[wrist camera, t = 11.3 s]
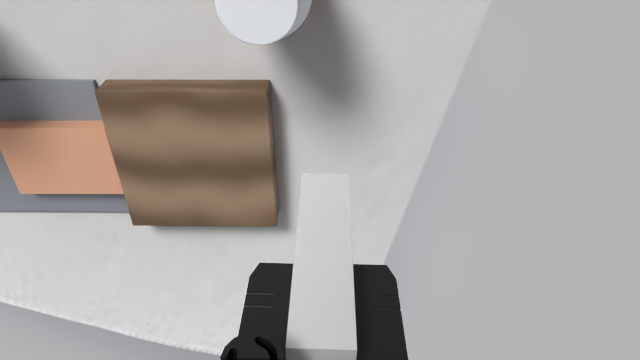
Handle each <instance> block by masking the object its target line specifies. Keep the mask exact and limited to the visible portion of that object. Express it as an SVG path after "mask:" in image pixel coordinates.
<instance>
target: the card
mask: <svg viewBox="0 0 640 360" xmlns="http://www.w3.org/2000/svg"><path fill="white" fill-rule="evenodd" d="M0 150H1V152H2V154H3V157H4V159H5V161H6V163H7V166H8V168H9V170H10V172H11V175H12V177H13V179H14V181H15V184H16V186H17V188H18V190H19V192H20V194H124V192H123V189H122V185H121V182H120V178H119V175H118V171H117V168H116V165H115V161H114V158H113V154H112V151H111V147H110V144H109V140H108V137H107V134H106V130H105V127H104V123H103V121H0Z"/></svg>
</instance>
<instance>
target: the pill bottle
mask: <svg viewBox="0 0 640 360" xmlns="http://www.w3.org/2000/svg"><path fill="white" fill-rule="evenodd" d="M214 2H215V5H216V10H217V14H218V16H219V19H220V20H221V22H222V24H223V25H224V27H225V28H226V29H227V30H228V31H229V32H230V33H231V34H232V35H233V36H234V37H236V38H237V39H239V40H241V41H243V42H245V43H248V44H253V45H267V44H271V43H274V42H276V41H278V40H280V39H282V38H284V37H286V36H288V35H290V34H291V33H293V32H294V31H295V30H297V29H298V28H299V27H300V25H301V24H302V23H303V22H304V20H305V19H306V17H307V15H308V13H309V10H310V7H311V4H312V0H214Z"/></svg>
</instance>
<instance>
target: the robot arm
mask: <svg viewBox="0 0 640 360" xmlns="http://www.w3.org/2000/svg"><path fill="white" fill-rule="evenodd" d="M220 358H221V360H408V356H407V350H406V343H405V336H404V329H403V323H402V316H401V311H400V302H399V298H398V289H397V282H396V278H395V277H394V275H393V274H392V272H391V271H390V270H389V268H388V267H387V266H386V265H359V264H353V255H352V234H351V214H350V193H349V174H317V173H302V178H301V189H300V199H299V210H298V220H297V231H296V241H295V252H294V263H293V264H282V263H259V265H258V266H257V267H256V269H255V270H254V271H253V273H252V274H251V275H250V278H249V283H248V288H247V295H246V298H245V304H244V309H243V314H242V319H241V324H240V329H239V335H238V337H236V338H234V339H233V340H232V341H231V342H229V343H228V344H227V345H226V346H225V348H224V350H223V353H222V355H221V357H220Z"/></svg>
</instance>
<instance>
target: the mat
mask: <svg viewBox="0 0 640 360" xmlns="http://www.w3.org/2000/svg"><path fill="white" fill-rule="evenodd" d="M96 90H97V86H96V82H95V80H0V121H103V120H102V116H101V113H100V110H99V106H98V103H97V99H96V96H95V91H96ZM0 211H61V212H129V209H128V206H127V202H126V199H125V195H124V194H20V192H19V190H18V188H17V186H16V184H15V181H14V179H13V177H12V175H11V172H10V170H9V168H8V166H7V163H6V161H5V159H4V157H3V154H2V152H1V150H0Z"/></svg>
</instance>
